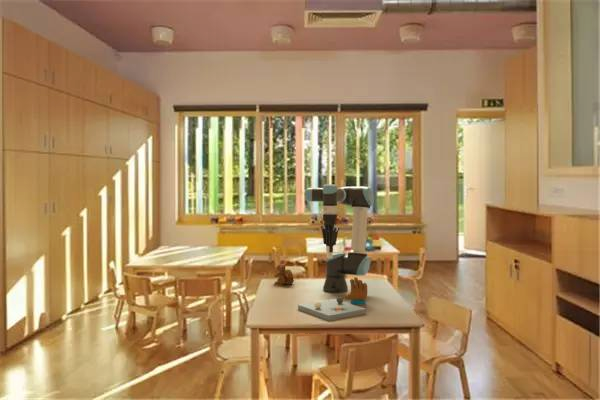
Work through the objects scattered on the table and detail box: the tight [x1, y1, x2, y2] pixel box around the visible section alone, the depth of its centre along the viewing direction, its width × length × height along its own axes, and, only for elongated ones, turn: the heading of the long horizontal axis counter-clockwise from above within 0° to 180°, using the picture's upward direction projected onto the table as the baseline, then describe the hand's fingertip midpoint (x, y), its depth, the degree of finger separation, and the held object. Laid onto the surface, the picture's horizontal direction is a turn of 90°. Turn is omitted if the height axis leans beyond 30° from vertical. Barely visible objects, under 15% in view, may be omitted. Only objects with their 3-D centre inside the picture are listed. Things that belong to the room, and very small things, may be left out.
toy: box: [344, 276, 368, 305], centre depth 274 cm, size 12×7×15 cm, turn 71°
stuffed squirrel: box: [273, 263, 295, 286], centre depth 327 cm, size 10×14×13 cm
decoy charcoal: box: [336, 296, 344, 304], centre depth 264 cm, size 4×4×4 cm
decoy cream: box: [315, 301, 321, 309], centre depth 253 cm, size 4×4×4 cm
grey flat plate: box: [297, 298, 367, 322], centre depth 257 cm, size 26×24×2 cm
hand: (329, 258), depth 264 cm, fingers closed
